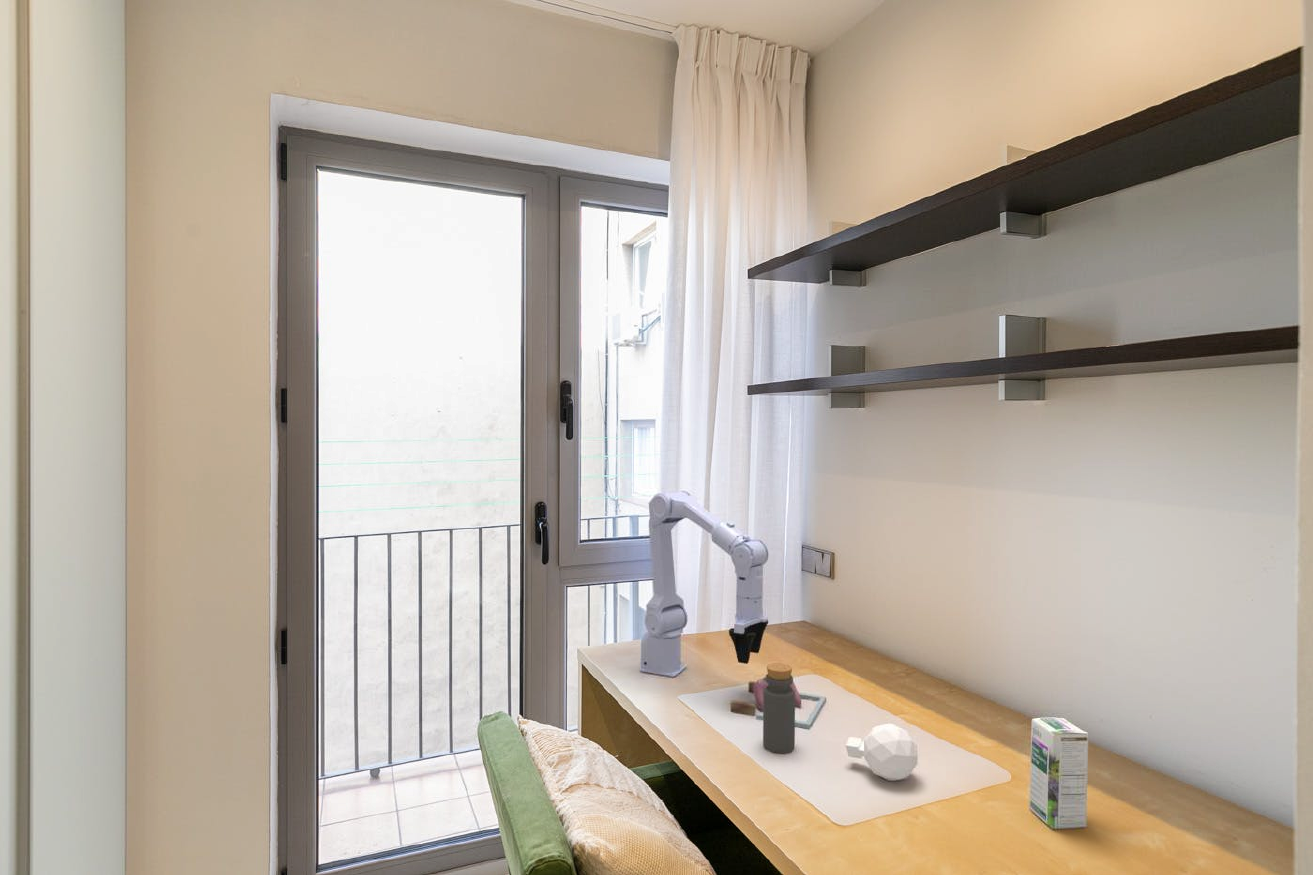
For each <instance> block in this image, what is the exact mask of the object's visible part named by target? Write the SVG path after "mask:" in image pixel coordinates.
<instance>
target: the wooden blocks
mask: <svg viewBox="0 0 1313 875" xmlns="http://www.w3.org/2000/svg"><path fill="white" fill-rule="evenodd" d="M755 682H756V681H748V693H753V685H754V683H755ZM756 704H757V703H756ZM756 704H755V703H750V702H745V701H741V700H734V699H733V700H731V702H730V712H732V713H736V714H742V715H747V716H756Z"/></svg>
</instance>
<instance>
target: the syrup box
mask: <svg viewBox="0 0 1313 875" xmlns="http://www.w3.org/2000/svg"><path fill="white" fill-rule="evenodd" d="M1030 729H1031V732H1030V735H1031V736H1030V777H1029V778H1030V780H1029V810H1030V811H1031V813H1032V812H1033V813H1034V814H1035V816H1037V817H1038V818H1039V819H1040V820H1042V821H1043V823H1045V824H1046V825H1047V826H1048V827H1049V828H1050V829H1051V830H1060V829H1062V830H1063V829H1077V828H1079V829H1080V828H1087V809H1088V808H1087V807H1088V805H1087V804H1088V771H1089V769H1088V765H1089V763H1088V761H1089V756H1088V755H1089V732H1087V731H1084V730H1082V729H1081V728H1079V727H1078V726H1077V725H1074V724H1073V723H1072V722H1070V721H1068V720H1067V719H1066V718H1063V717H1053V716H1052V717H1048V716H1047V717H1038V718H1032V719H1031V728H1030Z"/></svg>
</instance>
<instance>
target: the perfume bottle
mask: <svg viewBox="0 0 1313 875" xmlns="http://www.w3.org/2000/svg"><path fill="white" fill-rule="evenodd" d="M845 748H846V753H847V755H848V757H849V758H856V759H862V757H863V759H864V760H865V761H866V763H867V764H868V766H869V768H870V769H871V771H872V773H873V774H875V775H877V776H879V777H881V778H883V779H886V780H888V781H890V782H893V781H899V780H903V779H908V778H909V776H910V775H911V773H912V772H913V771H914V769H915V768H916V766H917V765H918V760H919V758H918V757H919V756H918V755H919V754H918V746H917V744H916V742H915V741H914V739H913V738H912V736H910V733H909V732H908V730H906V729H903V728H901V727H900V726H897V725H895V724H892V723H891V722H890V723H886V724H881V725H875V726H873V727H872V729H871V730H870V732H869V733H867V735H866V737H864V740H863V738H859V737H852V736H849V737H848V739H847V741H846V744H845Z"/></svg>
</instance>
